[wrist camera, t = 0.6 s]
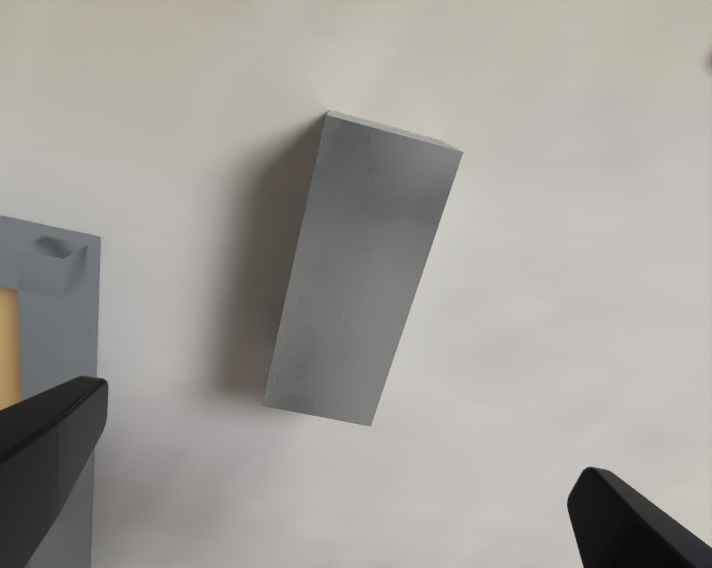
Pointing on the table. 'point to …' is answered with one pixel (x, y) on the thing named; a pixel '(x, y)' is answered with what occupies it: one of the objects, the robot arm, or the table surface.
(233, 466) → the table surface
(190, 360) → the table surface
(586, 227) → the table surface
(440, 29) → the table surface
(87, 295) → the grey divided tray
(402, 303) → the block
